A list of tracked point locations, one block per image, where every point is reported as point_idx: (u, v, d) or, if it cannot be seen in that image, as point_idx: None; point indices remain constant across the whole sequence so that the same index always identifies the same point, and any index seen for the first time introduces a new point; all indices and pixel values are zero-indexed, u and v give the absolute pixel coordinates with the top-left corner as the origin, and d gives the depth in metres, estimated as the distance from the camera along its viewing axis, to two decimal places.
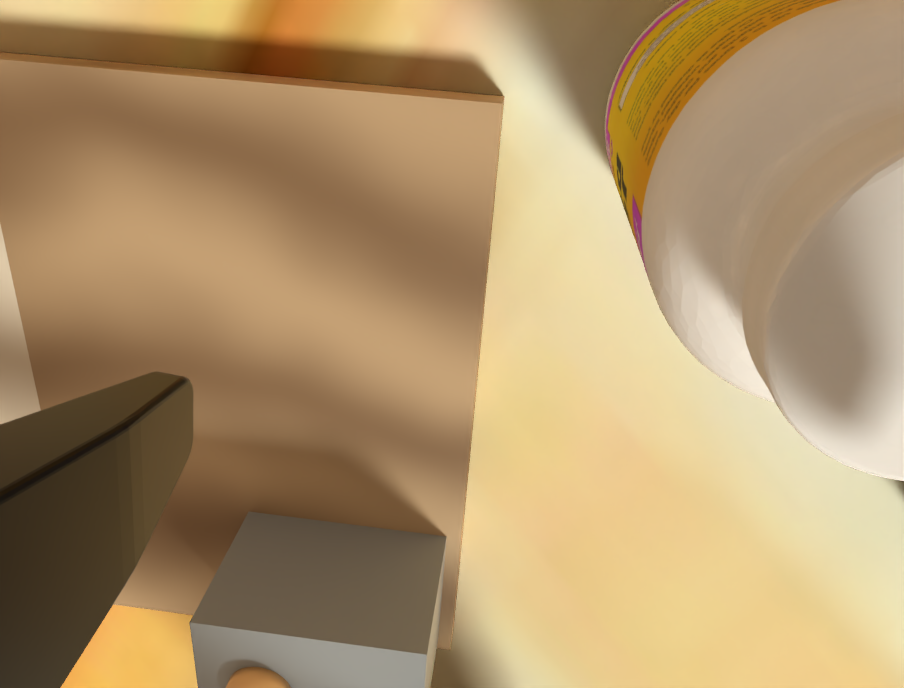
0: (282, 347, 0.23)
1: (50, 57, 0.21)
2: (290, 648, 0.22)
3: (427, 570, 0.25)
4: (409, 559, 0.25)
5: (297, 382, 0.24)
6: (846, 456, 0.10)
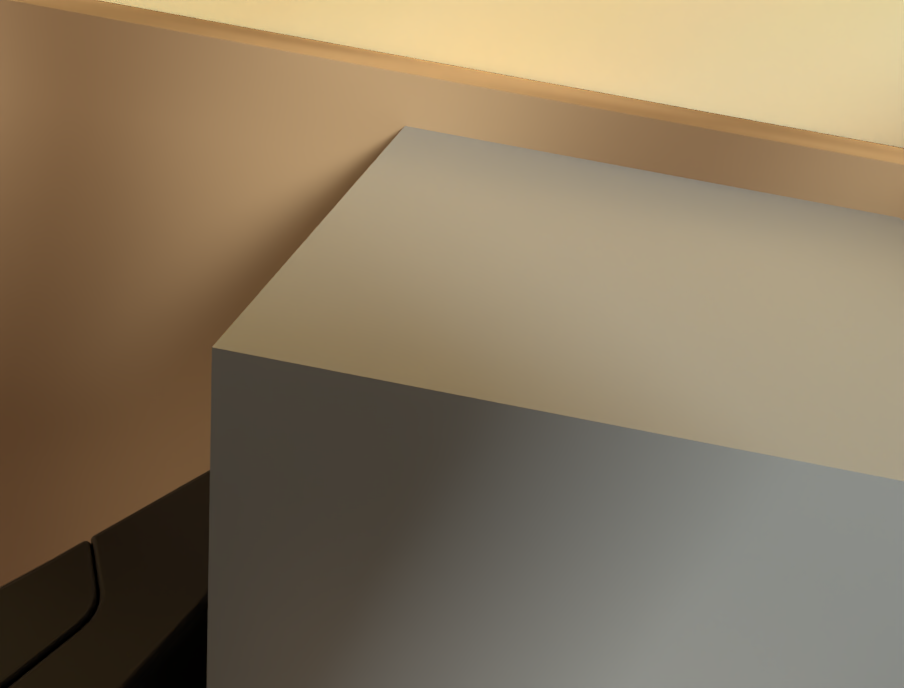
0: None
1: None
2: None
3: None
4: None
5: None
6: None
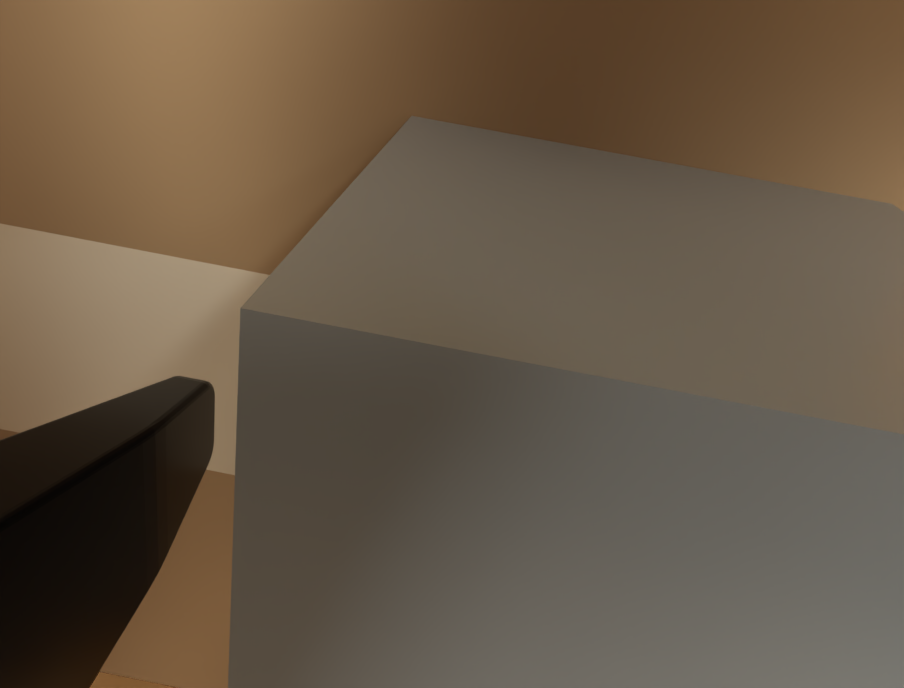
0: None
1: None
2: None
3: None
4: None
5: None
6: None
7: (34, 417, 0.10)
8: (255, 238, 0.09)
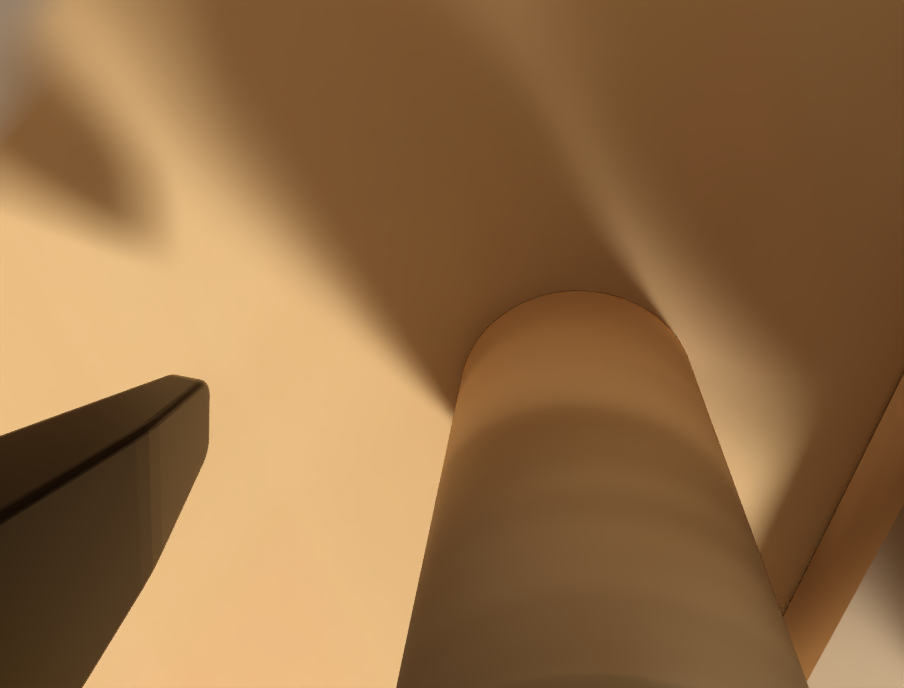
0: None
1: None
2: None
3: None
4: None
5: None
6: None
7: None
8: None
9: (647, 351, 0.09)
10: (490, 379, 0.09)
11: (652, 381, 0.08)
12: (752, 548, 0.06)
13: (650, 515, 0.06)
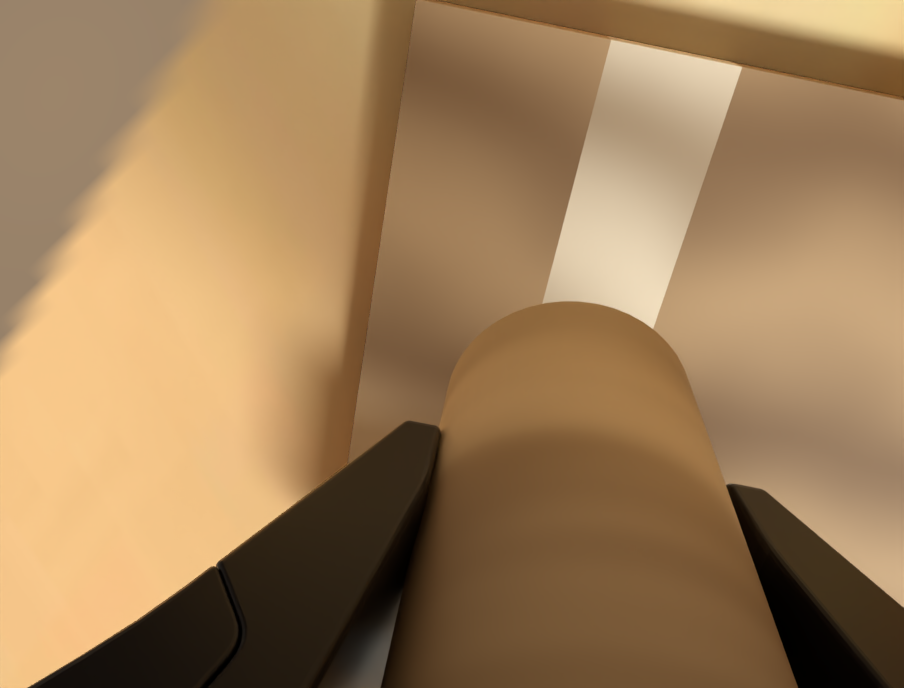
0: None
1: (805, 77, 0.18)
2: None
3: None
4: None
5: None
6: None
7: None
8: None
9: (642, 368, 0.08)
10: (475, 398, 0.08)
11: (648, 402, 0.07)
12: (756, 589, 0.06)
13: (646, 558, 0.05)
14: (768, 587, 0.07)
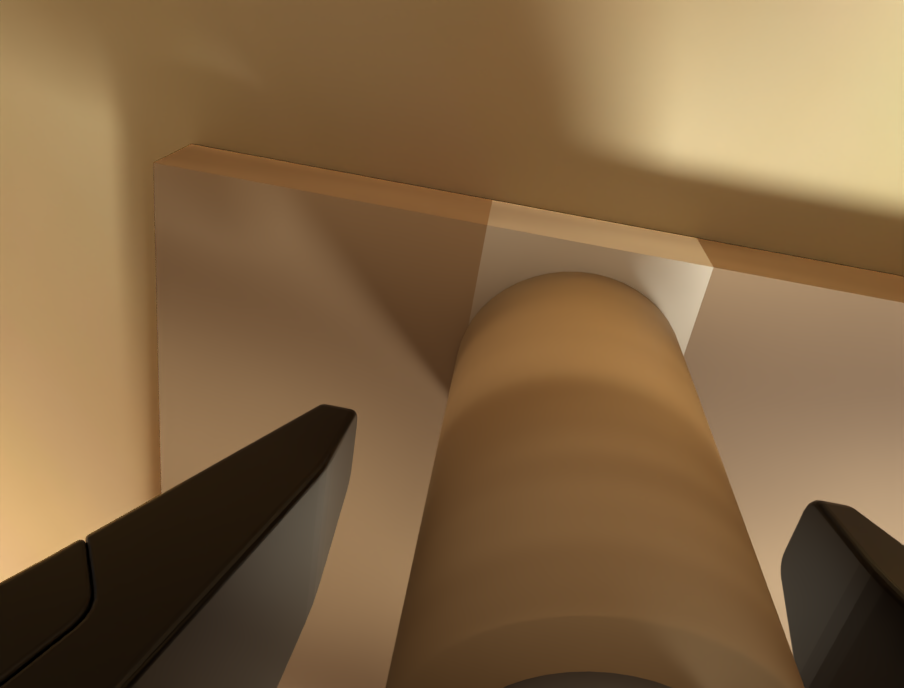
0: None
1: (822, 264, 0.11)
2: None
3: None
4: None
5: None
6: None
7: None
8: None
9: (636, 328, 0.09)
10: (484, 355, 0.09)
11: (640, 355, 0.08)
12: (734, 509, 0.07)
13: (638, 475, 0.06)
14: (873, 608, 0.07)
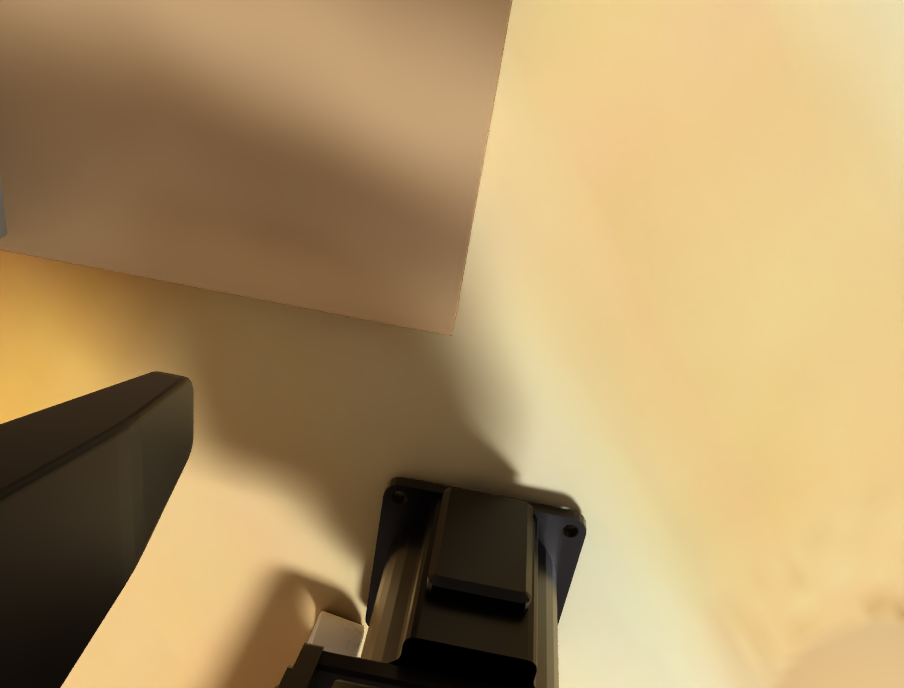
0: None
1: None
2: None
3: None
4: None
5: None
6: None
7: None
8: None
9: None
10: None
11: None
12: None
13: None
14: None
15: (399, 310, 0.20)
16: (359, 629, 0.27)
